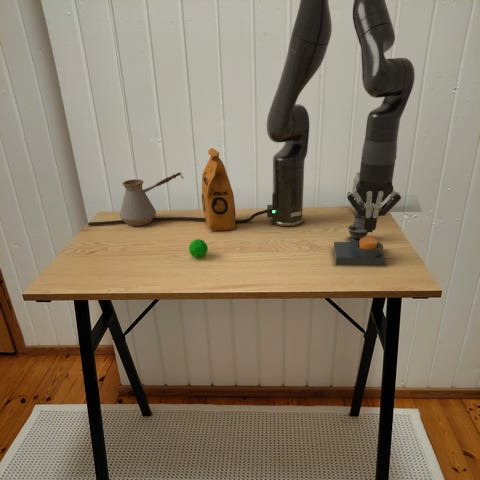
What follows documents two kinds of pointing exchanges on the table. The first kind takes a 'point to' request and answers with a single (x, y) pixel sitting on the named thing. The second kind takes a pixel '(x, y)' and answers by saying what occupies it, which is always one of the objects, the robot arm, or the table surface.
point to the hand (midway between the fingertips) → (368, 231)
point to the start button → (368, 243)
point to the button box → (358, 254)
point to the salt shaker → (357, 226)
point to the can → (355, 188)
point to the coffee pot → (139, 202)
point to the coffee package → (217, 195)
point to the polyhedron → (198, 248)
